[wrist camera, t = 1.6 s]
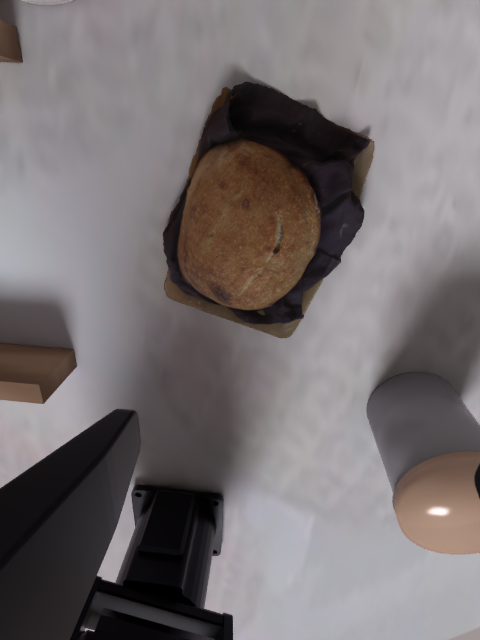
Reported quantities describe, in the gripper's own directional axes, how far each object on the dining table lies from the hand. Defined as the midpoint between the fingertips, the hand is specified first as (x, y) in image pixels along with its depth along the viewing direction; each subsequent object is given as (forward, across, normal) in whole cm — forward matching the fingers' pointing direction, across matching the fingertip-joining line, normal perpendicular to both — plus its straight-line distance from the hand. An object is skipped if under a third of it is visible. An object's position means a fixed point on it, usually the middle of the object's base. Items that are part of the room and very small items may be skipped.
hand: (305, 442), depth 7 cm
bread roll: (+13, +2, -2) cm, 13 cm away
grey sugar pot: (+12, -8, +8) cm, 17 cm away
